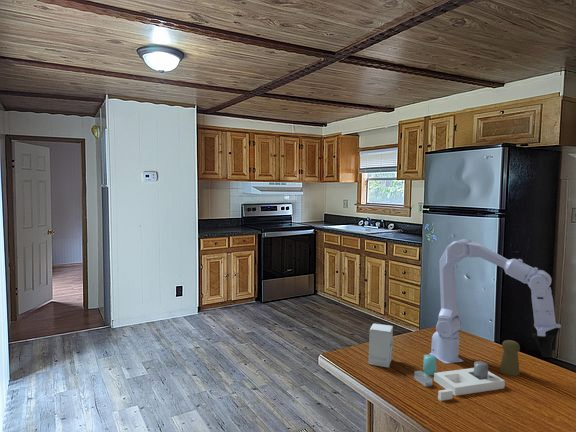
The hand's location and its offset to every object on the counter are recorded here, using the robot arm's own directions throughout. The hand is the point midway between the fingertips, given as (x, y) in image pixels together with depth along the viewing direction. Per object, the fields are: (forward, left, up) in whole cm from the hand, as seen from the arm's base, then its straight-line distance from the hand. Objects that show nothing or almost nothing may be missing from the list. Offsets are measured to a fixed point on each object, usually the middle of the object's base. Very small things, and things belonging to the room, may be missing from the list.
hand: (548, 353), depth 128 cm
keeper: (-1, -37, -11) cm, 39 cm away
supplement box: (-29, -42, -11) cm, 53 cm away
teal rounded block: (-16, -31, -11) cm, 37 cm away
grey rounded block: (-6, -20, -10) cm, 23 cm away
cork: (-10, -4, -11) cm, 16 cm away
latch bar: (-11, -37, -11) cm, 40 cm away
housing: (-6, -24, -11) cm, 27 cm away
